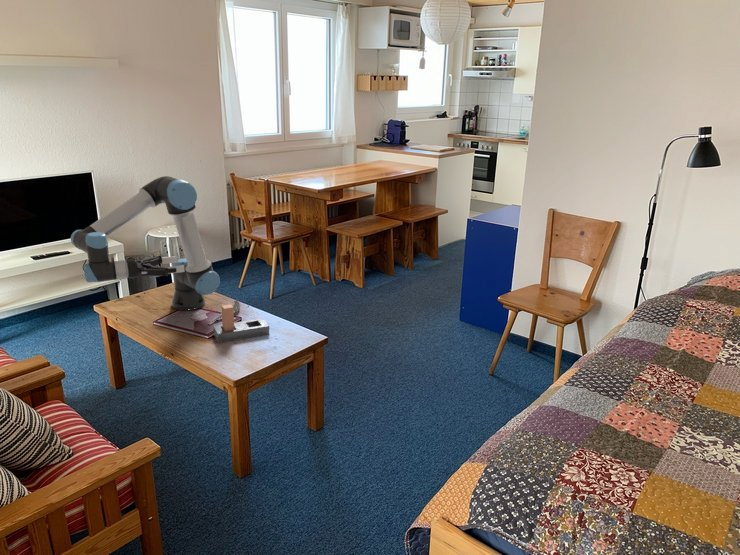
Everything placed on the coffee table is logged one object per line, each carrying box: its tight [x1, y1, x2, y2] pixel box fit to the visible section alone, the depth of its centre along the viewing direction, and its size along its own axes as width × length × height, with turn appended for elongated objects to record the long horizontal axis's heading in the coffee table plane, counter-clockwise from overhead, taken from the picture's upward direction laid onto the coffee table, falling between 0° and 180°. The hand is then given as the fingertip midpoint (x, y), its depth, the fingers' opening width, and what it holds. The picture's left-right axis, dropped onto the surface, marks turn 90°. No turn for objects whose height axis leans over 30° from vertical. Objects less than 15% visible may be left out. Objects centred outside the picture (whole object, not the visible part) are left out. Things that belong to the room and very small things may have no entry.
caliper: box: [209, 299, 241, 323], centre depth 261 cm, size 20×1×6 cm, turn 151°
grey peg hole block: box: [212, 318, 270, 344], centre depth 245 cm, size 9×22×4 cm, turn 118°
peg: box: [221, 303, 235, 331], centre depth 241 cm, size 4×4×14 cm
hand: (181, 263), depth 239 cm, fingers open, 13 cm apart
